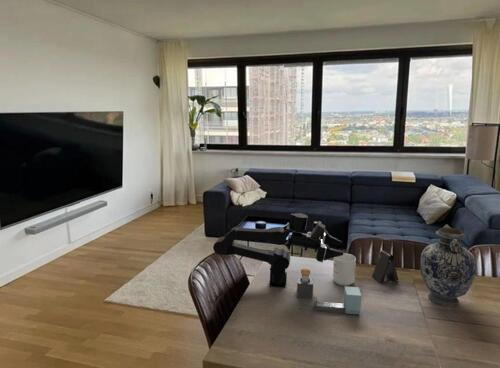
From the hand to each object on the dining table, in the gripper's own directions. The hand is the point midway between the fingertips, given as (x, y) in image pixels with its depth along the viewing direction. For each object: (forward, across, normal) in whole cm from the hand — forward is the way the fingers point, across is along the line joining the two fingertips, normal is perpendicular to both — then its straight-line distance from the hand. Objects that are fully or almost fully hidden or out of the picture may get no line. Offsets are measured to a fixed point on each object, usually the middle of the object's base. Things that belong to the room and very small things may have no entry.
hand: (342, 248), depth 141 cm
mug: (+4, +6, +18) cm, 20 cm away
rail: (0, -18, +16) cm, 24 cm away
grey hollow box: (-12, -9, +18) cm, 24 cm away
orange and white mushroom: (-12, -9, +16) cm, 22 cm away
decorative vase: (+41, -2, +12) cm, 43 cm away
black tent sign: (+22, +12, +16) cm, 30 cm away
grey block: (+5, -18, +15) cm, 24 cm away
